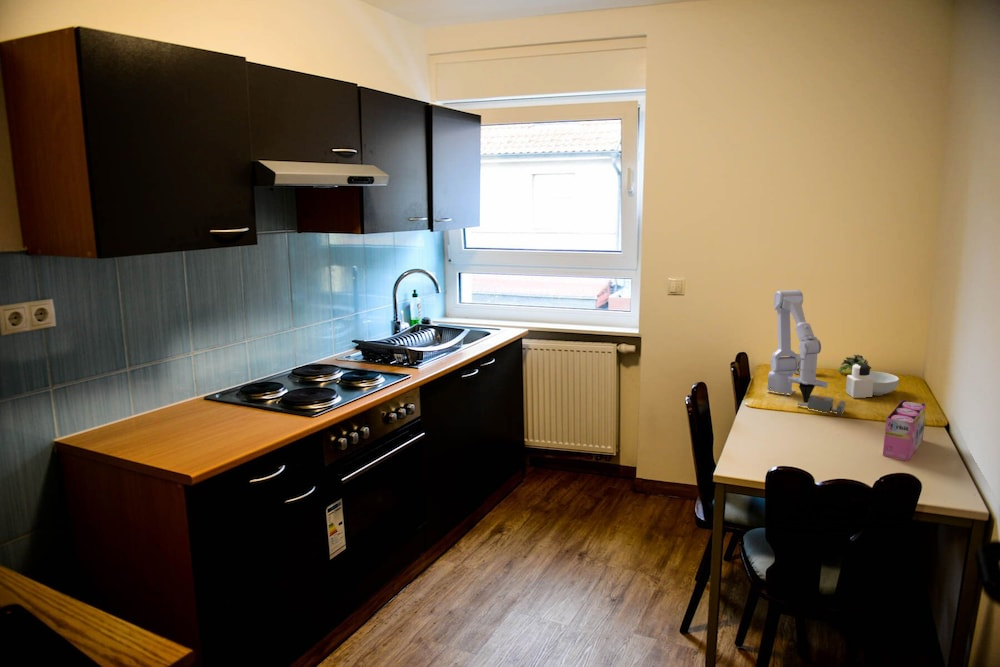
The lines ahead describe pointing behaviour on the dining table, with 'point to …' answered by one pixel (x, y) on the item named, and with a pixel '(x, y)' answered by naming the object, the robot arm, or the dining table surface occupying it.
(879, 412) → the dining table surface
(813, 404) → the block
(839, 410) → the rail
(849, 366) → the potted plant
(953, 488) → the dining table surface
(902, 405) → the gum box
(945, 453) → the dining table surface
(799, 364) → the electrical switch
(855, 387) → the container
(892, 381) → the cereal bowl
